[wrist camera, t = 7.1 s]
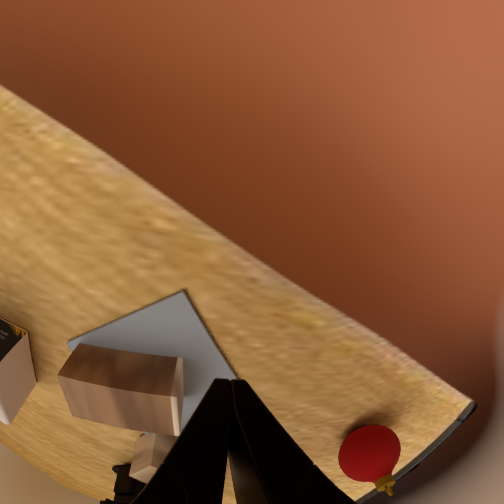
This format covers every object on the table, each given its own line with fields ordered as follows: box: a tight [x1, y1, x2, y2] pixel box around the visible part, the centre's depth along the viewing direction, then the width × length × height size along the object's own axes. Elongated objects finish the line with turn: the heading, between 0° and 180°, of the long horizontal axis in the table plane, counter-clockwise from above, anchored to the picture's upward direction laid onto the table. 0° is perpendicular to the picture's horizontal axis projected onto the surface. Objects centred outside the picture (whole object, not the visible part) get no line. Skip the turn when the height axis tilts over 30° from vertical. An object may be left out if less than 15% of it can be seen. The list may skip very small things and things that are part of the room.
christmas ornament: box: [338, 425, 401, 496], centre depth 22 cm, size 7×7×10 cm
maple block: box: [129, 432, 178, 484], centre depth 21 cm, size 4×4×5 cm
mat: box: [66, 290, 238, 437], centre depth 22 cm, size 16×12×1 cm
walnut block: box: [57, 343, 184, 436], centre depth 19 cm, size 4×4×9 cm
